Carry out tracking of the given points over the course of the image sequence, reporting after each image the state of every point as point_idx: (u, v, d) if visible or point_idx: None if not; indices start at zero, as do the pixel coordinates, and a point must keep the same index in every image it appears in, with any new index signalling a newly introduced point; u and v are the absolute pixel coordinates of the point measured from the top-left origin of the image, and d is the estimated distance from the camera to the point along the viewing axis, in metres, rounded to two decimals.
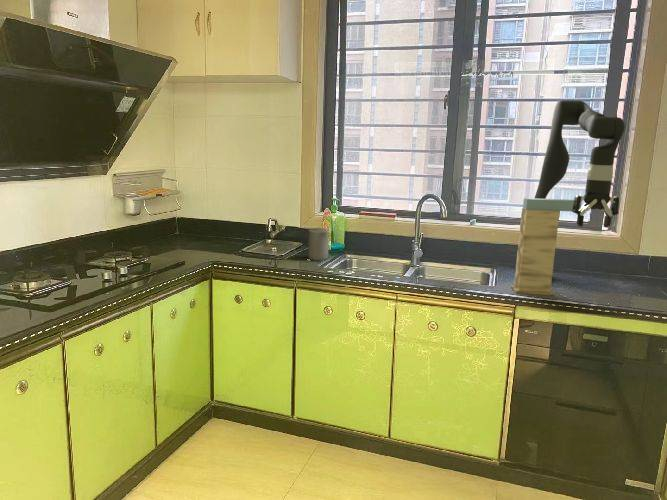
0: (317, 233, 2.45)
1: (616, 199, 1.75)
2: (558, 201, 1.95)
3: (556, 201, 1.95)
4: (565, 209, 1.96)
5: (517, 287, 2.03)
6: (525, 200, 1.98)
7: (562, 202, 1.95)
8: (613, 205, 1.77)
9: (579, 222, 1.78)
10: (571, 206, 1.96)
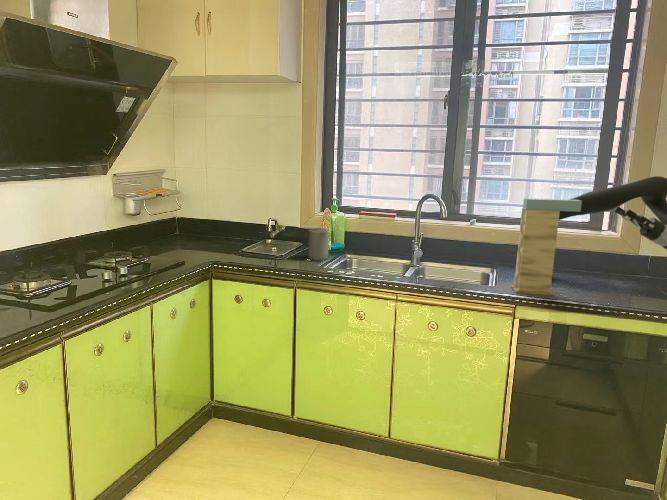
0: (317, 233, 2.45)
1: None
2: (558, 201, 1.95)
3: (556, 201, 1.95)
4: (565, 209, 1.96)
5: (517, 287, 2.03)
6: (525, 200, 1.98)
7: (562, 202, 1.95)
8: (630, 218, 2.01)
9: (629, 215, 1.90)
10: (571, 206, 1.96)
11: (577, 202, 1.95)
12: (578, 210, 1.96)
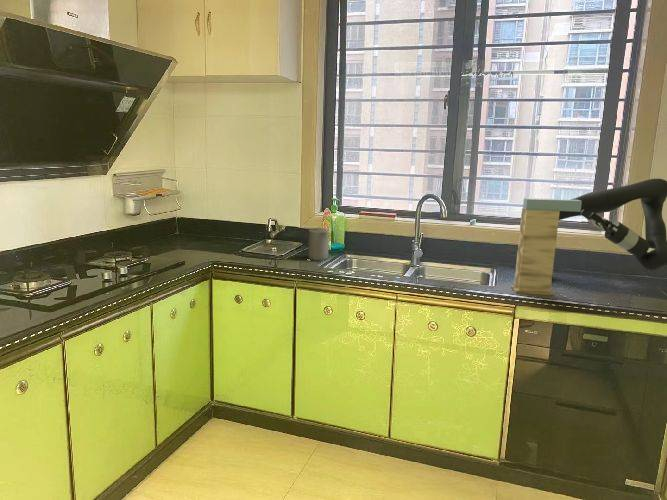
0: (317, 233, 2.45)
1: (598, 226, 2.04)
2: (558, 201, 1.95)
3: (556, 201, 1.95)
4: (565, 209, 1.96)
5: (517, 287, 2.03)
6: (525, 200, 1.98)
7: (562, 202, 1.95)
8: (595, 221, 2.04)
9: (594, 218, 1.93)
10: (571, 206, 1.96)
11: (577, 202, 1.95)
12: (578, 210, 1.96)
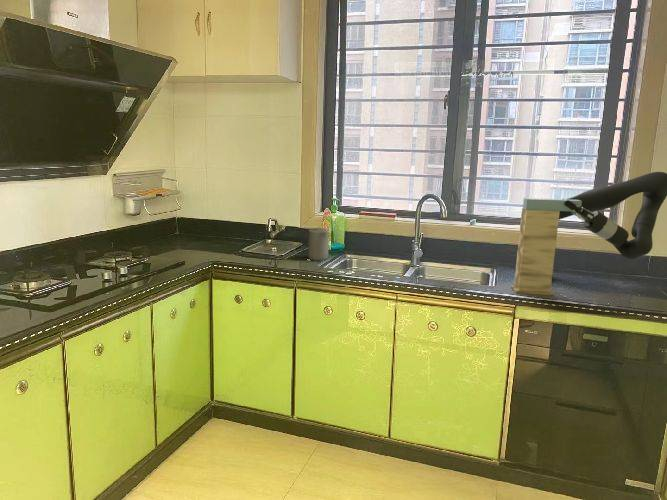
0: (317, 233, 2.45)
1: None
2: (558, 201, 1.95)
3: (556, 201, 1.95)
4: (565, 209, 1.96)
5: (517, 287, 2.03)
6: (525, 200, 1.98)
7: (562, 202, 1.95)
8: None
9: (568, 205, 1.95)
10: None
11: (577, 202, 1.95)
12: None
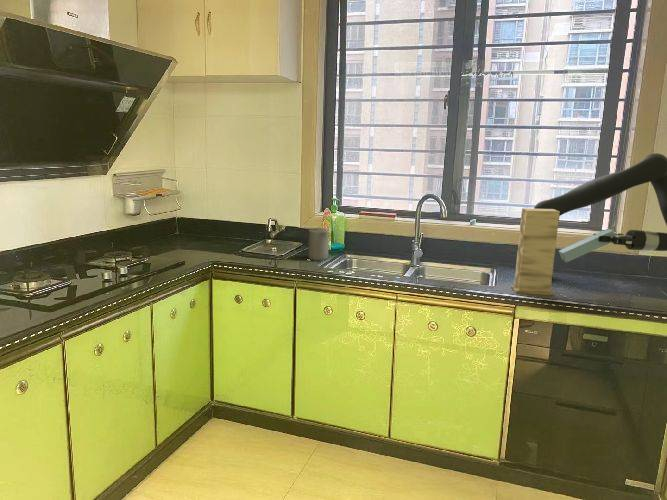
0: (317, 233, 2.45)
1: None
2: (592, 241, 1.98)
3: (590, 242, 1.98)
4: (602, 244, 1.98)
5: (517, 287, 2.03)
6: (561, 253, 2.01)
7: (596, 240, 1.97)
8: None
9: (603, 241, 1.96)
10: None
11: (610, 233, 1.97)
12: None
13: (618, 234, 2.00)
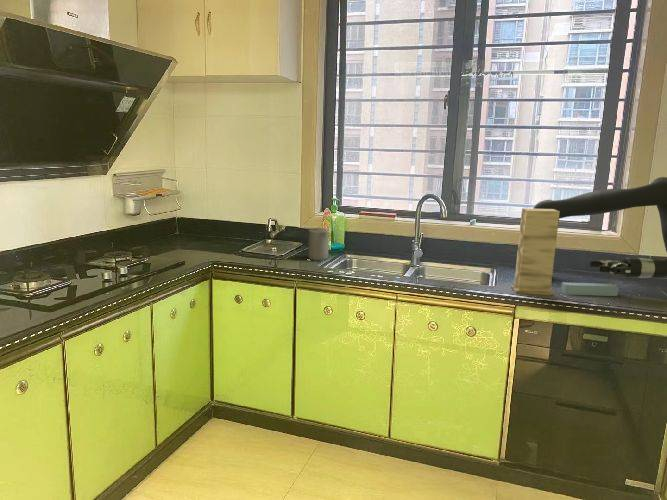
0: (317, 233, 2.45)
1: None
2: (596, 287, 2.01)
3: (594, 287, 2.01)
4: (602, 294, 2.02)
5: (517, 287, 2.03)
6: (563, 285, 2.03)
7: (600, 288, 2.01)
8: None
9: None
10: (608, 291, 2.02)
11: (614, 288, 2.01)
12: (615, 295, 2.02)
13: (613, 262, 2.02)
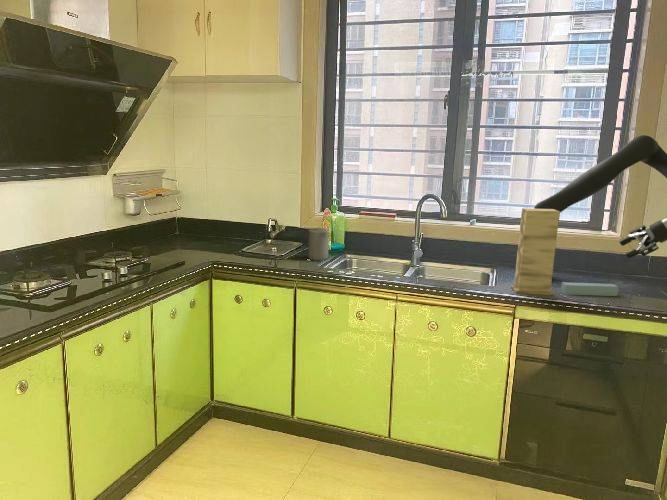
0: (317, 233, 2.45)
1: None
2: (596, 287, 2.01)
3: (594, 287, 2.01)
4: (602, 294, 2.02)
5: (517, 287, 2.03)
6: (563, 285, 2.03)
7: (599, 288, 2.01)
8: (638, 232, 2.01)
9: None
10: (608, 291, 2.02)
11: (614, 288, 2.01)
12: (615, 295, 2.02)
13: (641, 234, 1.97)
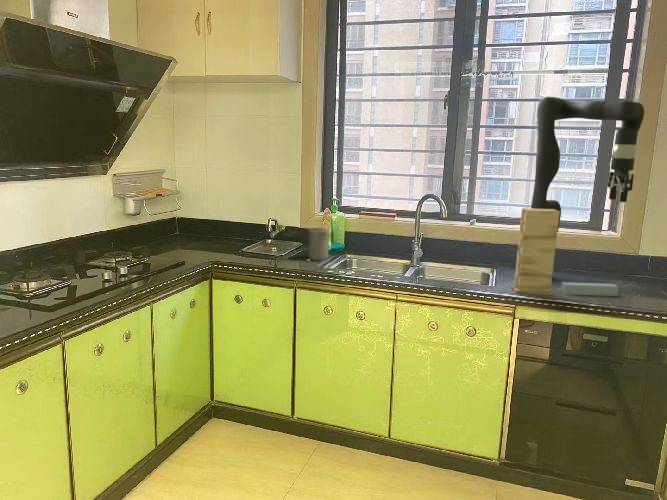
0: (317, 233, 2.45)
1: None
2: (596, 287, 2.01)
3: (594, 287, 2.01)
4: (602, 294, 2.02)
5: (517, 287, 2.03)
6: (563, 285, 2.03)
7: (599, 288, 2.01)
8: None
9: None
10: (608, 291, 2.02)
11: (614, 288, 2.01)
12: (615, 295, 2.02)
13: (614, 179, 1.99)
